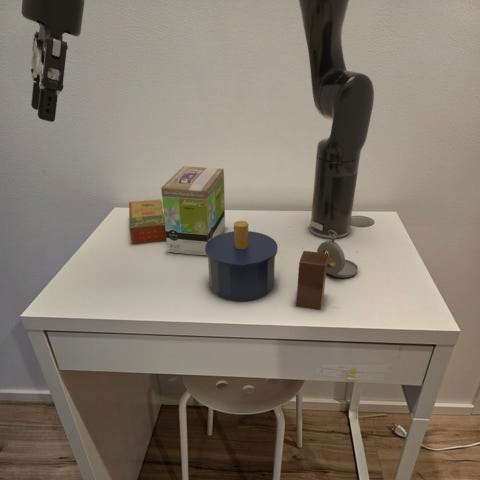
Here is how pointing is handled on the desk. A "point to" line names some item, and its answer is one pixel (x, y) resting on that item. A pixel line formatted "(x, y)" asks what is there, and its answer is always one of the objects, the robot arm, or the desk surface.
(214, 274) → the tin
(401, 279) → the desk surface
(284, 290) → the desk surface
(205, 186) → the tea box
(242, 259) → the tin lid
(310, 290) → the block
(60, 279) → the desk surface
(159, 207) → the carton
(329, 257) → the pocket watch
